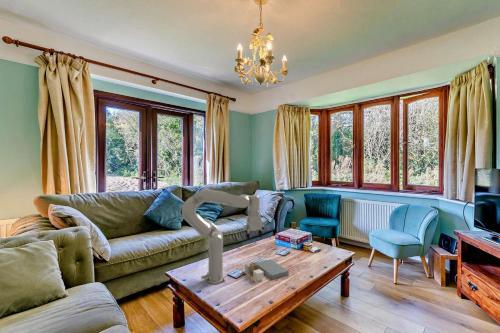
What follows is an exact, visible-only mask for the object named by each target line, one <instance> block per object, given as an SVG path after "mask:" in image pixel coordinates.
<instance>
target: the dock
mask: <svg viewBox="0 0 500 333" xmlns="http://www.w3.org/2000/svg"><path fill="white" fill-rule="evenodd" d="M256 263H257V264H258V269H260V270H261V271H263V272H264V275H266V277H268V278H270V279H271V280H275V279H278V278H282V277H286V276H287V277H290V275H289V272H290V270H288V269H287V268H286V267H283V266H282V265H280V264H279V263H278V262H276V261H274V260H273V259H271V258H270V259H266V260H262V261H258V262H256Z"/></svg>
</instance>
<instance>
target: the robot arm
mask: <svg viewBox="0 0 500 333" xmlns="http://www.w3.org/2000/svg"><path fill="white" fill-rule="evenodd" d="M260 199H261V198H260V196H259V195H258V194H251V195H249V194H240V195H235V194H230V193H228V192H226V191H222V190H214V189H210V188H208V187H205V188H202V189H200V190H199V191H198V192H196V193H195V194H193V195H192V196H190V197H188V198H187V199H186V200H185V202H184V203H183V204H182V209H181V215H182V218H183V219H184V221H186V222H187V223H188V224H189V225H190V227H192V228H193V229H194V230H195V232H197V233H198V234H199V235H200V236H202V237H207V238H208V242H207V244H208V245H207V246H208V254H207V255H208V272H206V274H205V275H201V276H200V278H201V280H205V281H206V282H207V283H209V284H211V285H218V284H221V283H223V282H224V281H225V278H224V277H223V273H224V272H223V269H224V268H223V267H224V265H223V264H224V262H223V259H224V258H223V257H224V256H223V255H224V253H223V252H224V237H223V235H224V234H223V232H222V231H221V229H220V228H219V227H217V226H216V225H215V223H213V222H212V220H209V219H208V218H203V217H202V216H201V215H200V214H198V213H197V211H196V210H197V209H198V207H199V206H201V205H202V204H203V203H212V204H217V205H218V204H220V205H223V206H229V207H233V208H239V209H240V208H241V209H245V208H248V211H247V213H246V214H247V219H246V224H245V225H244V226H243V227H242V230H243V232H245V238H246V239H247V240H248V241H249V240H250V239H251V238H250V237H251V236H250V232H253V231H258V233H257V234H258V237H259V238H262V237H263V231H264V229H265V226H266V224H265V223H263V220H262V215H261V212H260V208H261V207H260V205H261V203H260V202H261V201H260Z"/></svg>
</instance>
